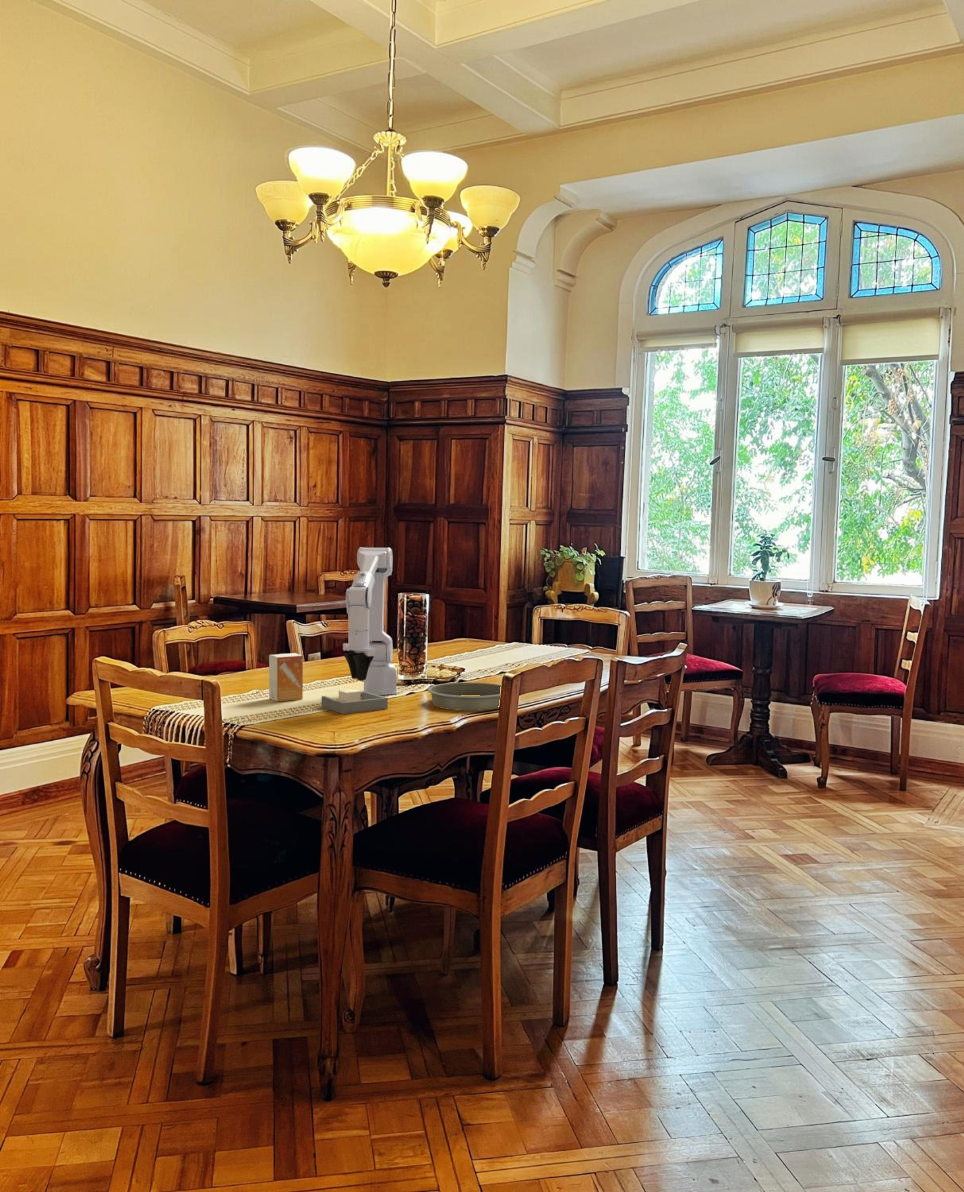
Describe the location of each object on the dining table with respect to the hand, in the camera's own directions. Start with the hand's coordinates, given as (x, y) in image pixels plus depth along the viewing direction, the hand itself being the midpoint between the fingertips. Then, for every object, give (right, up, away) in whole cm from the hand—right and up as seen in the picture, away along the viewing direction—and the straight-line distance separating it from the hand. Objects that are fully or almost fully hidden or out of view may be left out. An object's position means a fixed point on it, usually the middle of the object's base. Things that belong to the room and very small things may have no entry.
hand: (358, 679), depth 279 cm
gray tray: (-2, -8, +3) cm, 9 cm away
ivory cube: (-3, -8, +5) cm, 10 cm away
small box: (-23, -7, +15) cm, 28 cm away
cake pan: (+31, -8, +11) cm, 34 cm away
